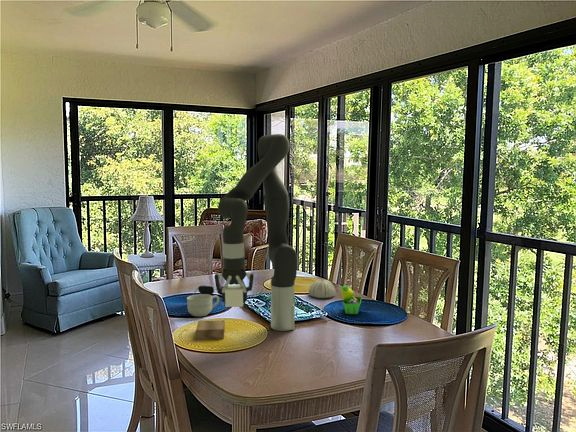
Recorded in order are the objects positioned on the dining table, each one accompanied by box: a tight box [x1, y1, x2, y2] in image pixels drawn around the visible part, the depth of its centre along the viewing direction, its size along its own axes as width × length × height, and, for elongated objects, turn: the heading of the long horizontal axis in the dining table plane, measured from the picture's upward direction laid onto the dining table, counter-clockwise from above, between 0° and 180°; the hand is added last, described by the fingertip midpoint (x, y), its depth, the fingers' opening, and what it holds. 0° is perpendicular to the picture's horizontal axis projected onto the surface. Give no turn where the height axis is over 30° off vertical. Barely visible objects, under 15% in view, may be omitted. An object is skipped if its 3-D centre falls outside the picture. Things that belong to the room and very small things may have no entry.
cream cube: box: [224, 284, 245, 308], centre depth 165 cm, size 6×6×6 cm
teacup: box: [186, 293, 220, 317], centre depth 201 cm, size 14×11×8 cm
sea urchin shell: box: [308, 279, 337, 299], centre depth 231 cm, size 13×14×8 cm
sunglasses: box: [192, 285, 224, 296], centre depth 226 cm, size 17×15×5 cm
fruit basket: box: [340, 285, 362, 315], centre depth 207 cm, size 11×9×11 cm
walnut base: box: [195, 319, 226, 341], centre depth 178 cm, size 10×10×4 cm
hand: (234, 302), depth 165 cm, fingers closed on cream cube, 6 cm apart
